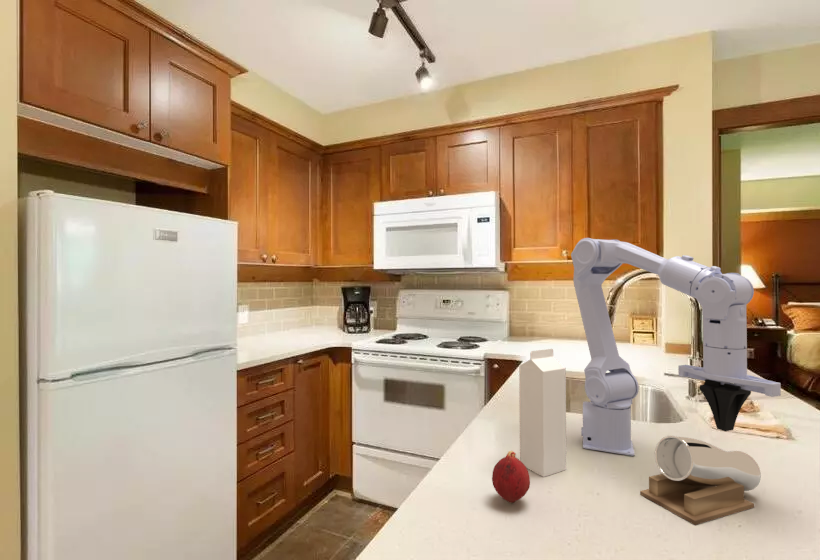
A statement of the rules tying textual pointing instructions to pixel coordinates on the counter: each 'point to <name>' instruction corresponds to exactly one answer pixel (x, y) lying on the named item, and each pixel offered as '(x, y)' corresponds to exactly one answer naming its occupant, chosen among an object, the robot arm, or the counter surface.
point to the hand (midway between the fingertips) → (725, 429)
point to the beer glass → (705, 463)
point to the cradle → (696, 499)
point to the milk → (543, 413)
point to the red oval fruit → (511, 478)
